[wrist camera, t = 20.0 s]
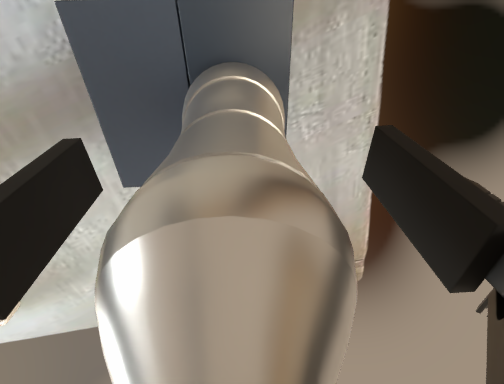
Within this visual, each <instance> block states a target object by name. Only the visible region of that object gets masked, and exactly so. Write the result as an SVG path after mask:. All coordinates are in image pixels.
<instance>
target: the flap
mask: <svg viewBox="0 0 504 384" xmlns="http://www.w3.org/2000/svg"><path fill="white" fill-rule="evenodd" d="M54 2H55V5H56V7H57V10H58V13H59V15H60V18H61V21H62V23H63V26H64V29H65V32H66V34H67V37H68V40H69V42H70V45H71V48H72V50H73V53H74V56H75V58H76V61H77V64H78V67H79V69H80V72H81V75H82V77H83V80H84V83H85V85H86V88H87V91H88V93H89V96H90V99H91V102H92V104H93V107H94V110H95V112H96V115H97V118H98V120H99V123H100V126H101V128H102V131H103V134H104V136H105V139H106V142H107V145H108V147H109V150H110V153H111V155H112V158H113V161H114V163H115V166H116V169H117V171H118V174H119V177H120V180H121V182H122V185H123V187H124V188H125V187H141V186H142V185H143V184H144V182H145V181H146V180H147V179H148V178H149V177H150V176H151V174H152V173H153V172H154V171H155V170H156V169H157V168H158V166H159V165H160V164H161V163H162V162H163V161H164V160H165V159H166V157H167V156H168V155H169V153H170V152H171V150H172V148H173V147H174V145H175V143H176V142H177V140H178V138H179V136H180V135H181V130H182V113H183V106H184V101H185V97H186V94H187V92H188V90H189V81H188V75H187V68H186V62H185V55H184V49H183V42H182V36H181V29H180V23H179V16H178V10H177V3H176V0H66V1H54Z"/></svg>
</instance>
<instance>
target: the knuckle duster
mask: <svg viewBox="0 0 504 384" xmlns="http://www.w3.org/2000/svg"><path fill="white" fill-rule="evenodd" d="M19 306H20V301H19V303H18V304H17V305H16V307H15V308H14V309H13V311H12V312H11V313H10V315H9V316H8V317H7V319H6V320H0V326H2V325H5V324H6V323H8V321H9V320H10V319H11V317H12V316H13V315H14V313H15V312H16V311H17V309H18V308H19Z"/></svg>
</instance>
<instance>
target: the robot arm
mask: <svg viewBox="0 0 504 384" xmlns="http://www.w3.org/2000/svg"><path fill="white" fill-rule="evenodd" d="M362 178H363V180H364V181H365V182H366V184H367V185H368V186H369V187H370V189H371V190H372V191H373V193H374V194H375V195H376V197H377V198H378V199H379V201H380V202H381V203H382V205H383V206H384V207H385V208H386V209H387V211H388V212H389V214H390V215H391V216H392V217H393V219H394V220H395V221H396V223H397V224H398V225H399V227H400V228H401V229H402V231H403V232H404V233H405V235H406V236H407V237H408V239H409V240H410V241H411V243H412V244H413V245H414V247H415V248H416V249H417V250H418V252H419V253H420V254H421V256H422V257H423V258H424V260H425V261H426V262H427V264H428V265H429V266H430V267H431V269H432V270H433V271H434V272H435V274H436V275H437V277H438V278H439V279H440V281H441V282H442V283H443V285H444V286H445V287H446V288H447V290H448V291H449V292H450V293H459V292H474V291H475V290H476V289H477V288H478V287H479V285H480V284H481V283H482V281H483V280H484V279H486V280H487V281H488V282H489V283H490V284H491V285H492V286H493V287H494V288H493V290H492V291H491V292H490V293H489V294H488V295H487V297H486V298H485V299H484V300H483V301H482V303H481V304H480V305H479V306H478V308H477V310H476V312H478V313H481V312H482V311H483V310H484V309H485V308H488V316H487V317H488V328H487V369H486V371H487V372H486V384H504V202H501V199H499V198H498V197H496V196H495V195H493V194H491V193H490V192H489V191H488V190H486V189H485V188H484V187H482V186H481V185H480V184H478V183H476V182H474V181H471V180H469V179H467V178H465V177H463V176H462V175H460V174H459V173H458V172H456V171H455V170H454V169H452V168H451V167H449V166H448V165H447V164H445V163H444V162H442V161H441V160H440V159H438V158H437V157H435V156H434V155H433V154H431V153H430V152H429V151H427V150H426V149H424V148H423V147H421V146H420V145H419V144H417V143H416V142H415V141H413V140H412V139H410V138H409V137H408V136H406V135H405V134H404V133H402V132H401V131H399V130H398V129H397V128H395V127H394V126H393V125H388V126H375V130H374V134H373V138H372V142H371V146H370V150H369V153H368V157H367V161H366V165H365V169H364V173H363V176H362ZM102 191H103V189H102V186H101V184H100V182H99V179H98V177H97V175H96V172H95V170H94V168H93V165H92V163H91V161H90V158H89V156H88V154H87V151H86V149H85V147H84V144H83V142H82V140H81V138H73V139H62V140H61V141H60V142H58V143H57V144H55V145H54V146H53V147H51V148H50V149H49V150H47V151H46V152H44V153H43V154H42V155H40V156H39V157H38V158H36V159H35V160H33V161H32V162H31V163H29V164H28V165H27V166H25V167H24V168H22V169H21V170H20V171H18V172H17V173H16V174H14V175H13V176H11V177H10V178H9V179H7V180H6V181H5V182H3V183H2V184H0V320H6V319H7V317H8V316H9V315H10V313H11V312H12V311H13V309H14V308H15V307H16V305H17V304H18V303H19V301H20V300H21V299H22V297H23V296H24V295H25V293H26V292H27V291H28V289H29V288H30V287H31V285H32V284H33V283H34V281H35V280H36V279H37V277H38V276H39V275H40V273H41V272H42V271H43V269H44V268H45V267H46V265H47V264H48V263H49V261H50V260H51V259H52V257H53V256H54V255H55V253H56V252H57V251H58V249H59V248H60V247H61V245H62V244H63V243H64V241H65V240H66V239H67V237H68V236H69V235H70V233H71V232H72V231H73V229H74V228H75V227H76V225H77V224H78V223H79V221H80V220H81V219H82V217H83V216H84V215H85V213H86V212H87V211H88V209H89V208H90V207H91V205H92V204H93V203H94V201H95V200H96V199H97V197H98V196H99V195H100V193H101V192H102Z"/></svg>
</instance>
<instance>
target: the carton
mask: <svg viewBox="0 0 504 384" xmlns="http://www.w3.org/2000/svg"><path fill="white" fill-rule="evenodd" d="M61 1H66V0H61ZM176 3H177V10H178V16H179V23H180V29H181V36H182V42H183V49H184V55H185V62H186V68H187V75H188V81H189V87H190V86H191V85H192V83H193V82H194V80H195V79H196V78H197V77H198V76H199V75H200V74H201V73H202V72H203V71H205V70H207V69H209V68H210V67H212V66H215V65H218V64H221V63H227V62H238V63H244V64H248V65H250V66H253V67H255V68H257V69H259V70H260V71H261V72H263V73H264V74H266V75H267V76H268V77H269V78H270V80H271V81H272V82H273V83H274V85H275V86H276V88H277V89H278V91H279V93H280V96H281V99H282V102H283V108H284V116H285V129H284V132H285V138H286V130H287V112H288V94H289V76H290V58H291V40H292V22H293V4H294V0H176Z"/></svg>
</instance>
